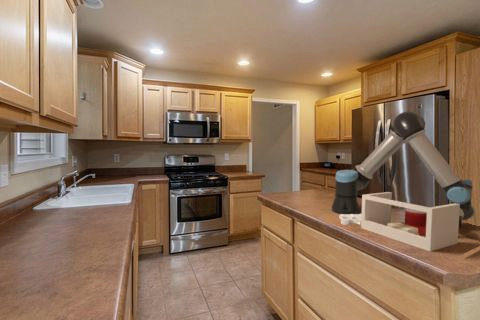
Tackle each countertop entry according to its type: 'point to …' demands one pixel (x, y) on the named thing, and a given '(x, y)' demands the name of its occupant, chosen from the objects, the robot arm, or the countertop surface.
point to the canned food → (416, 220)
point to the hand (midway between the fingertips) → (422, 219)
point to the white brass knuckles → (350, 218)
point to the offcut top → (403, 227)
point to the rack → (437, 232)
